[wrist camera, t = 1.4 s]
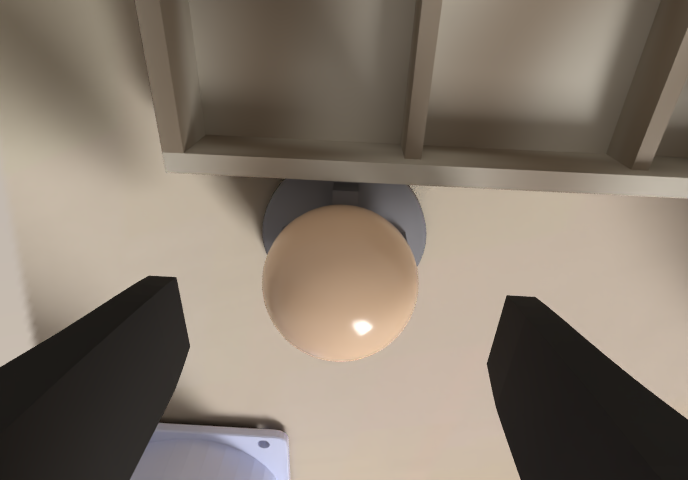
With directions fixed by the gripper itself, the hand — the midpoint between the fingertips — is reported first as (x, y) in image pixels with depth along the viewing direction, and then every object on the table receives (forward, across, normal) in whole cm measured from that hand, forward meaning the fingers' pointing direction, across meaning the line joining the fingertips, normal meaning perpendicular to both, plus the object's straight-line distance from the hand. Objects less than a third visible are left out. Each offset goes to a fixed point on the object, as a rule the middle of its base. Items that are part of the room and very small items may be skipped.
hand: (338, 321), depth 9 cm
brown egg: (+4, 0, 0) cm, 4 cm away
